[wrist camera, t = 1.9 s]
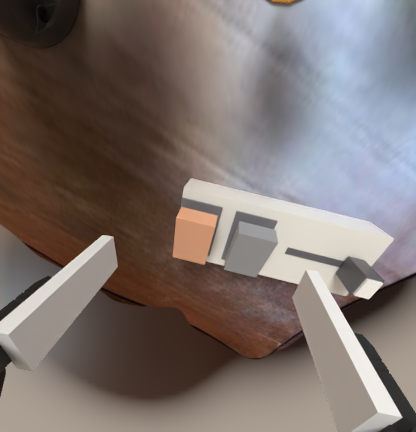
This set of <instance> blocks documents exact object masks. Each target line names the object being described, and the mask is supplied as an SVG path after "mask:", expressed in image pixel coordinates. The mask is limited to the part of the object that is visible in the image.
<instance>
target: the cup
mask: <svg viewBox="0 0 416 432" xmlns="http://www.w3.org/2000/svg"><path fill="white" fill-rule="evenodd" d="M271 1H273V2H282V3H291V2H293V1H295V0H271Z"/></svg>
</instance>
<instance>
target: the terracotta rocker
mask: <svg viewBox="0 0 416 432" xmlns="http://www.w3.org/2000/svg"><path fill="white" fill-rule="evenodd" d="M216 221H217V215H213V214H209V213H205V212H201V211H197V210H193V209H189V208H185V207H181V209H180V211H179V213H178V215H177V217H176V227H175V238H174V249H173V257H175V258H179V259H183V260H187V261H191V262H195V263H199V264H203V265H205V262H206V258H207V255H208V251H209V248H210V244H211V241H212V237H213V234H214V230H215V227H216Z"/></svg>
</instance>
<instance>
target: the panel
mask: <svg viewBox="0 0 416 432" xmlns="http://www.w3.org/2000/svg"><path fill="white" fill-rule="evenodd" d="M181 207H185V208H189V209H193V210H197V211H201V212H205V213H209V214H213V215H217V221H216V227H215V230H214V234H213V237H212V241H211V244H210V248H209V251H208V255H207V258H206V261H207V262H211V263H215V264H219V265H223V266H224V263H225V256H226V254H227V251H228V249H229V246H230V244H231V241H232V239H233V236H234V233H235V231H236V228H237V226H238V223H239V221H242V222H246V223H250V224H254V225H258V226H262V227H266V228H270V229H274V230H276V234H277V239H278V244H277V246H276V247H275V249H274V250H273V252H272V253H271V255H270V257H269V258H268V260H267V261H266V263H265V264H264V266H263V267H262V269H261V271H260V272H259V275H263V276H267V277H271V278H275V279H279V280H283V281H287V282H291V283H295V284H299V283H300V281H301V279H302V277H303V275H304V272H305V270H312V271H318V273H319V274H320V276H321V278H322V279H323V281H324V283H325V285H326V286H327V288H328V290H329V292H331V293H335V294H339V295H343V296H346V295H347V294H348V293H349V292H348V291H347V289H346V288H345V287H344V285H343V284H342V282H341V281H340V279H339V278H338V276H337V275H336V272H337V271H338V270H339V268H340V267H341V266H342V264H343V263H344V262H345V260H346V259H347V258H348V256H350V257H354V258H358V259H362V260H365V261H366V262H367V263H368V264H369V265H370V266H372V265H373V264H374V262H375V261H376V260H377V259H378V258H379V257H380V255H381V254H382V253H383V252H384V251H385V249H386V248H387V247H388V246H389V245H390V244H391V242H392V241H393V240H394V238H392V237H391V236H389V235H388V234H386V233H385V232H384V231H382V230H381V229H379V228H378V227H377V226H375V225H374V224H372V223H371V222H369V221H365V220H360V219H356V218H352V217H348V216H344V215H340V214H336V213H332V212H328V211H324V210H320V209H315V208H311V207H307V206H303V205H299V204H295V203H291V202H287V201H283V200H279V199H275V198H270V197H266V196H262V195H258V194H254V193H250V192H246V191H242V190H238V189H234V188H230V187H225V186H221V185H217V184H213V183H209V182H205V181H201V180H197V179H193V178H191V179H190V180H189V181H188V183H187V184H186V185H185V187H184V190H183V196H182V200H181ZM181 207H180V209H181Z"/></svg>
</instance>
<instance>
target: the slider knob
mask: <svg viewBox="0 0 416 432" xmlns="http://www.w3.org/2000/svg"><path fill="white" fill-rule="evenodd" d="M336 275H337V276H338V278H339V279H340V281H341V282H342V284H343V285H344V287H345V288H346V289H347V291H348V292H349V294H350V295H353V296H357V297H361V298H365V299H369V298H370V297H371V296H372V295H373V294H374V293H375V292H376V291H377V290H378V289H379V288H380V287H381V286H382V285H383V282H384V280H383V279H382V278H381V277H380V276H379V275H378V273H377V272H376V271H375V270H374V269H373V268H372V267H371V266H370V265H369V264H368V263H367V262H366V261H365V260H362V259H358V258H354V257H350V256H348V258H347V259H346V260H345V262H344V263H343V264H342V266H341V267H340V268H339V270H338V271H337V272H336Z"/></svg>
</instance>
